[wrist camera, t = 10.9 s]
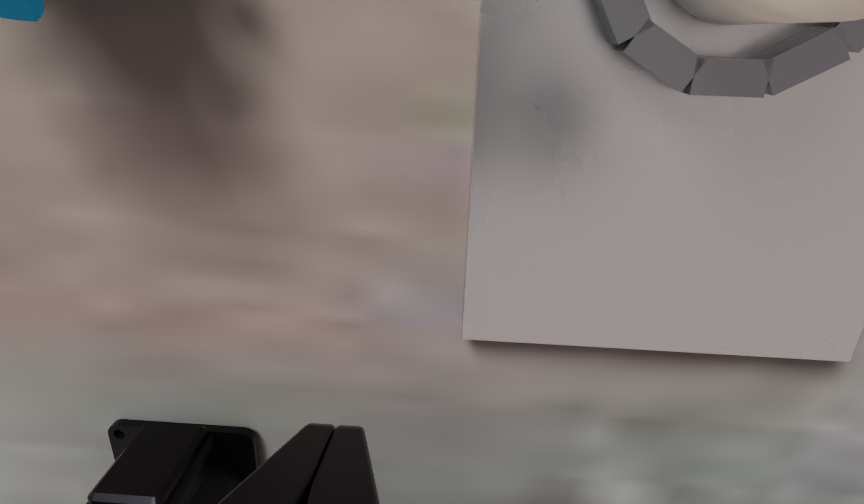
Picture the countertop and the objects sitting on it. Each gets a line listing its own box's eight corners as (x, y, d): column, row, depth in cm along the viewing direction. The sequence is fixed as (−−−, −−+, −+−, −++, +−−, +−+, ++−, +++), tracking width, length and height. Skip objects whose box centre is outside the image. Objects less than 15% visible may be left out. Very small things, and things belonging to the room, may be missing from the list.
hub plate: (829, 343, 21) (871, 381, 19) (462, 322, 22) (461, 357, 20) (1051, -264, 14) (1159, -315, 12) (496, -268, 15) (501, -318, 12)
